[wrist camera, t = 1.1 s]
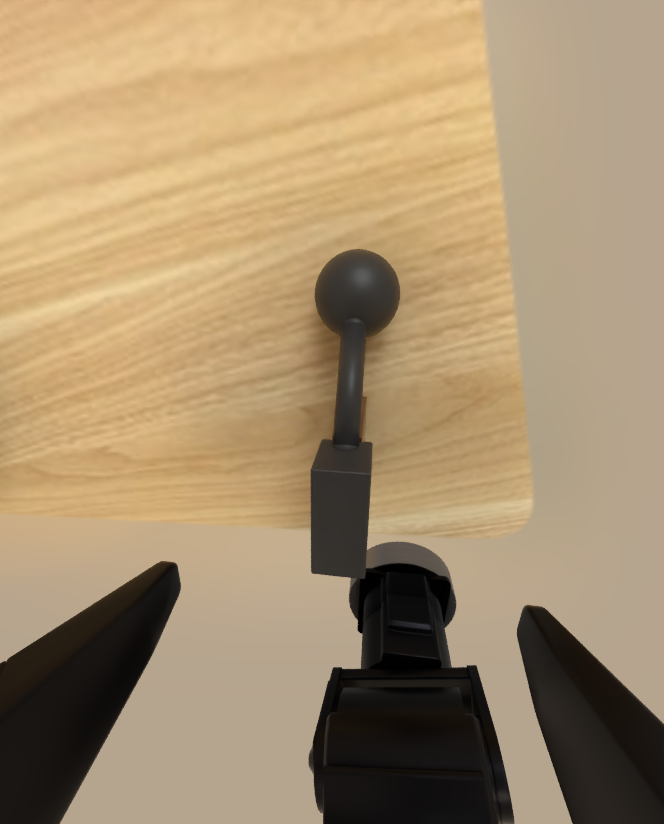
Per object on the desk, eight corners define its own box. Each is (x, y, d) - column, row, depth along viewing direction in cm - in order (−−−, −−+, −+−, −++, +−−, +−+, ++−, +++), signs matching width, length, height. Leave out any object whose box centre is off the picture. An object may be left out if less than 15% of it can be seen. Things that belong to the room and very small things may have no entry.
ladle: (322, 253, 16) (278, 227, 9) (400, 253, 16) (418, 227, 9) (320, 472, 20) (289, 571, 13) (384, 477, 20) (387, 582, 13)
